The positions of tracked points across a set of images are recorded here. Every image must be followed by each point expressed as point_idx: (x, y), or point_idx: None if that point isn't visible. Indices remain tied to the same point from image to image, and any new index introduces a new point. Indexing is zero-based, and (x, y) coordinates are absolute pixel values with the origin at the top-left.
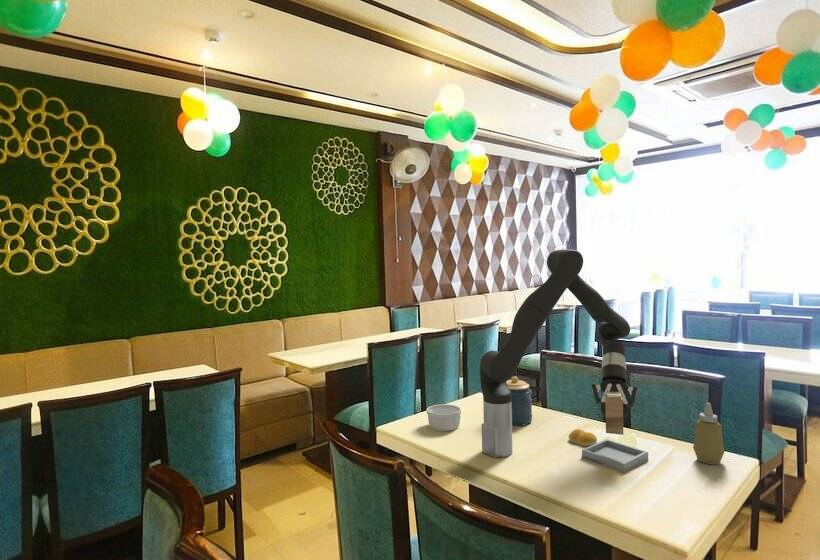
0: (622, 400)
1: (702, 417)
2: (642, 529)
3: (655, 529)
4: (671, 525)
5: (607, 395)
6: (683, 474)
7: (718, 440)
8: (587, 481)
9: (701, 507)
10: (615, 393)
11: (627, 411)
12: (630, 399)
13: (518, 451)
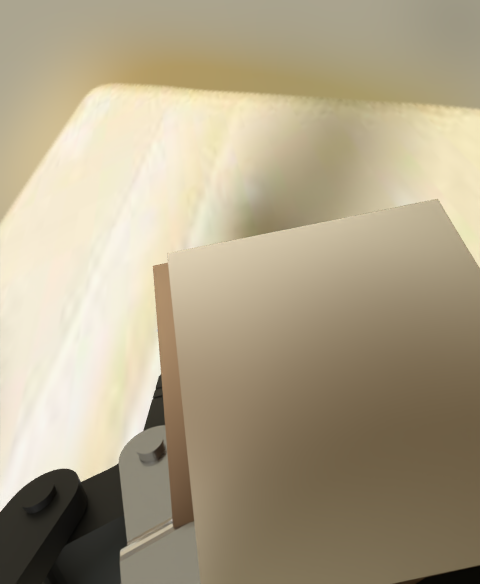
0: (164, 272)
1: None
2: (156, 94)
3: (135, 104)
4: (106, 127)
5: (421, 215)
6: (32, 408)
7: None
8: (305, 200)
9: (33, 218)
10: (314, 373)
11: (158, 390)
12: (44, 531)
13: None
